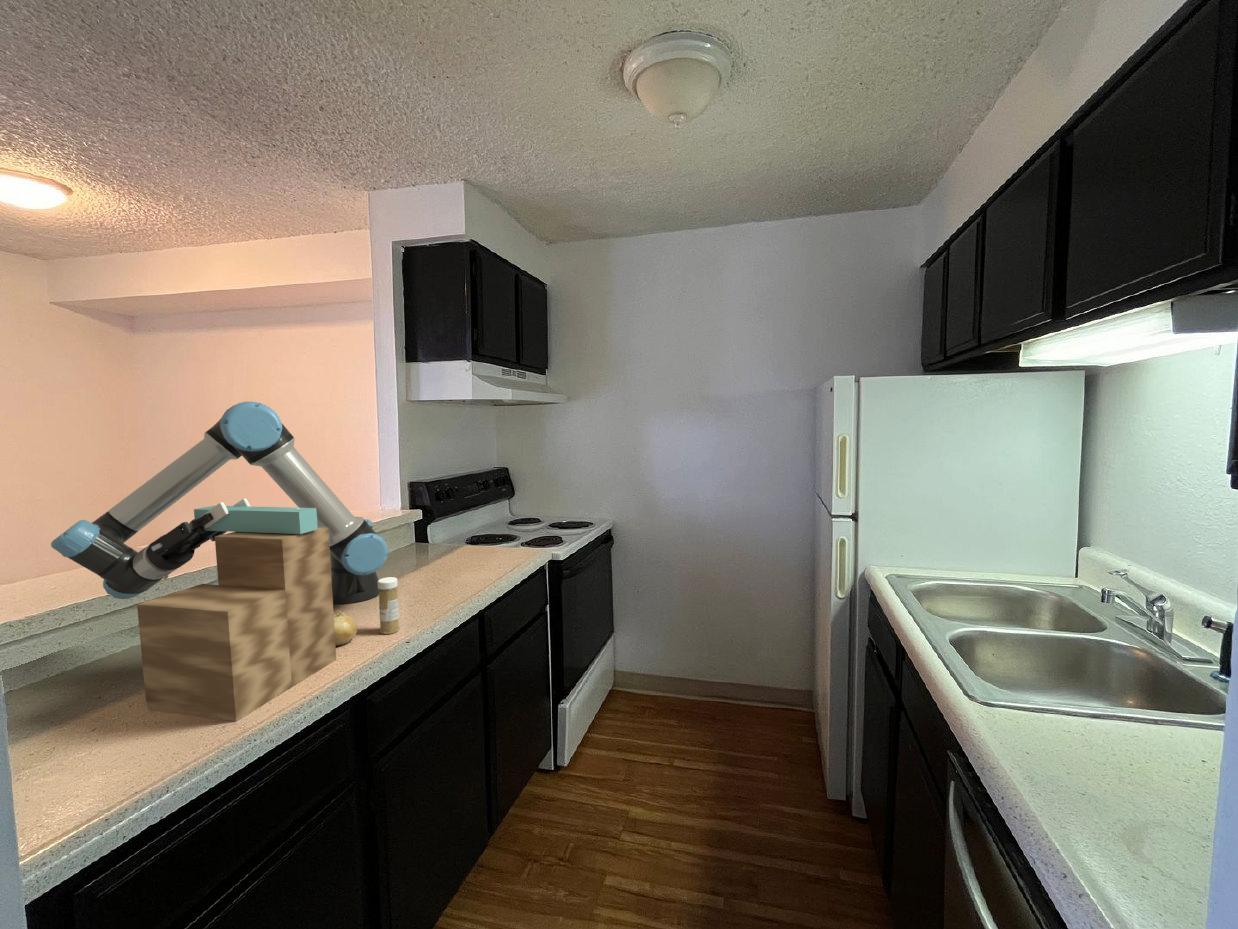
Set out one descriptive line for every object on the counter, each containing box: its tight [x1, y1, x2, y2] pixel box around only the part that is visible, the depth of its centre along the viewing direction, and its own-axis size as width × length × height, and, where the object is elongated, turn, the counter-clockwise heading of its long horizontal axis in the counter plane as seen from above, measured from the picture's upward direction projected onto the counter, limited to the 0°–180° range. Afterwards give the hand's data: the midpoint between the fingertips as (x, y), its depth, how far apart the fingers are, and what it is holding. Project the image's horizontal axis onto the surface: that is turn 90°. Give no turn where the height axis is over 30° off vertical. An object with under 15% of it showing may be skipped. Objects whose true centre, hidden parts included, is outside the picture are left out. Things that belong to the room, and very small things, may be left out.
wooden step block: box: [136, 526, 337, 722], centre depth 104 cm, size 24×20×30 cm
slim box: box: [193, 505, 318, 534], centre depth 109 cm, size 4×26×4 cm, turn 78°
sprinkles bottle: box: [378, 576, 400, 635], centre depth 129 cm, size 5×5×14 cm
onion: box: [333, 611, 358, 647], centre depth 123 cm, size 8×8×7 cm
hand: (236, 506), depth 109 cm, fingers closed on slim box, 4 cm apart
